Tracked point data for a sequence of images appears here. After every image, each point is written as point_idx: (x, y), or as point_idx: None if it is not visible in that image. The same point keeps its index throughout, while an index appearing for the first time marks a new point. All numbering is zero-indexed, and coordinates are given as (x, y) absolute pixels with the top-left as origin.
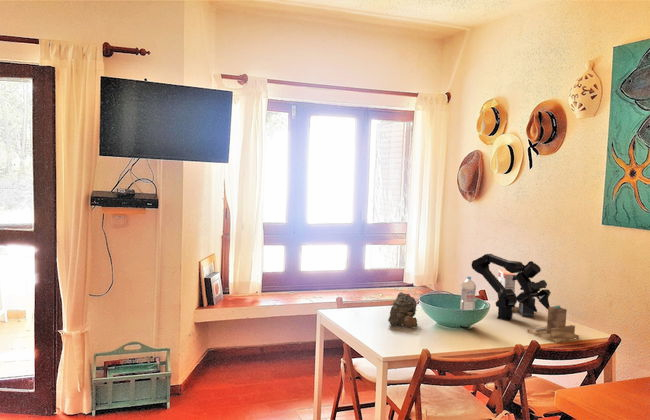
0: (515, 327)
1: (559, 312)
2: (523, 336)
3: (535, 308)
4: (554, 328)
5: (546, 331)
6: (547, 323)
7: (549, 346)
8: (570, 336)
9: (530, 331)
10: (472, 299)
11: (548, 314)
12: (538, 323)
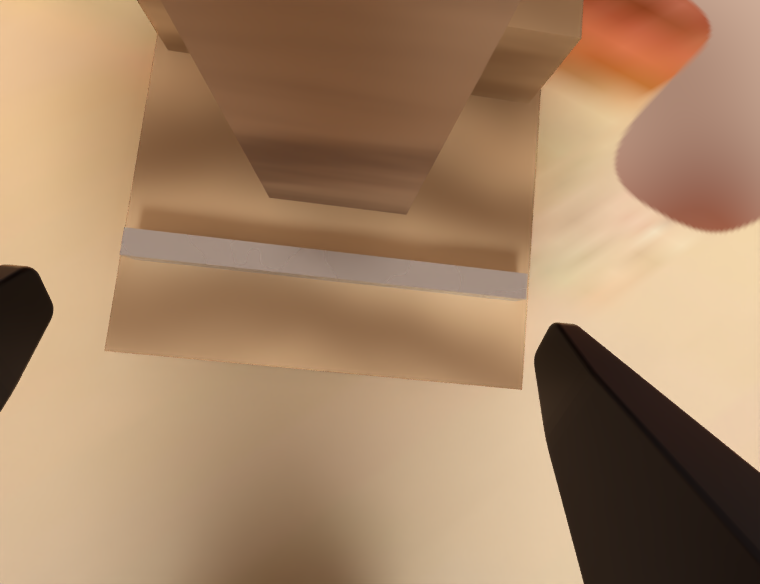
0: (477, 567)
1: None
2: (658, 317)
3: (629, 368)
4: (528, 14)
5: (383, 230)
6: (426, 172)
7: (667, 37)
8: None
9: (520, 343)
10: None
11: (473, 77)
12: (34, 555)
